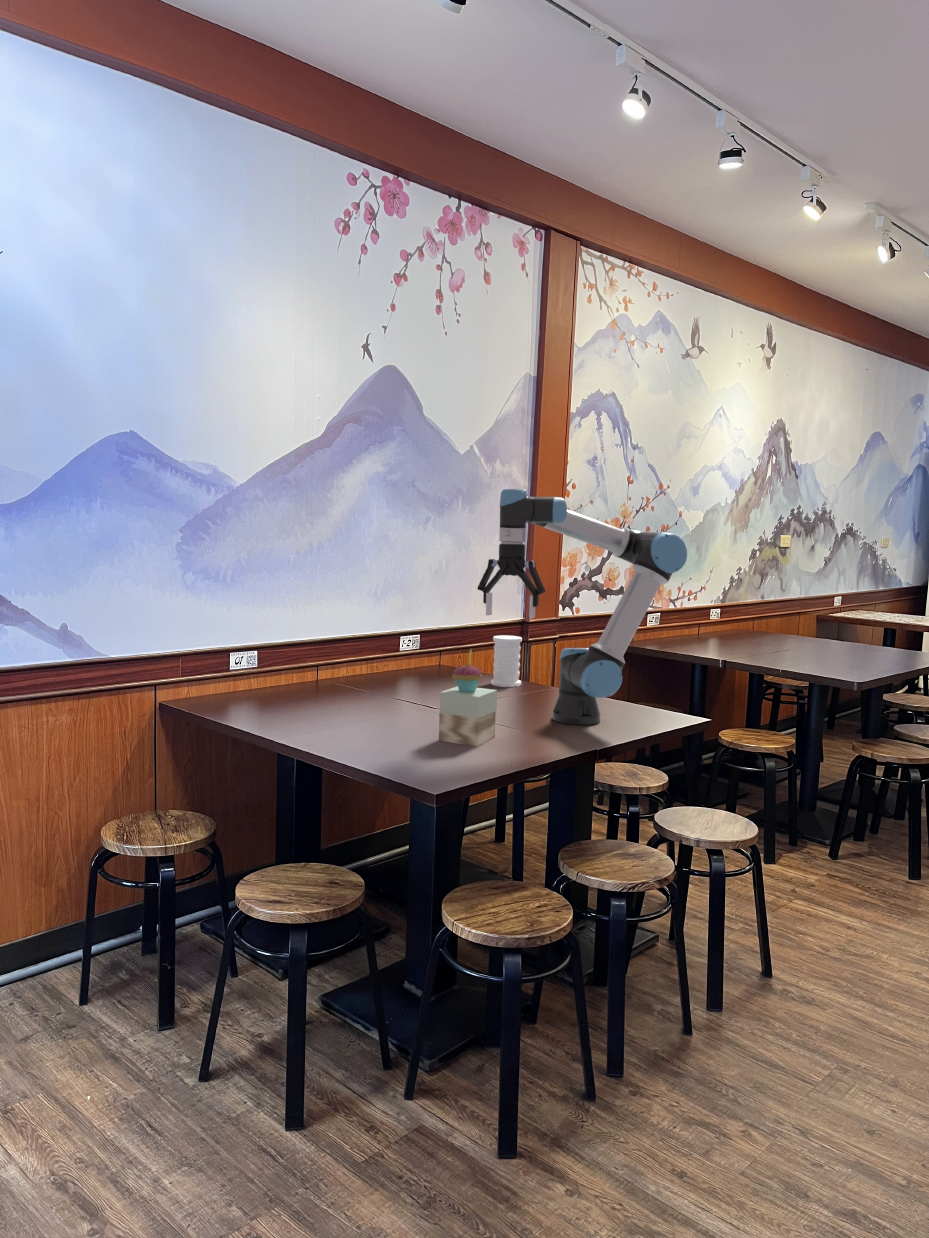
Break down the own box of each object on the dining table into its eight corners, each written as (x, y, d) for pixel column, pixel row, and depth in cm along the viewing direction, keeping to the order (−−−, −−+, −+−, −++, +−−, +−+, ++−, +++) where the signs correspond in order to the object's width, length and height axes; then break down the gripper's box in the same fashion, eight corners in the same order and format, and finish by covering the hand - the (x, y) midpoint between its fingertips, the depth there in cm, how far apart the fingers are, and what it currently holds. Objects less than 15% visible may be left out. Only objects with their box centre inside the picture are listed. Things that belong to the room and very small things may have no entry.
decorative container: (487, 681, 354) (489, 635, 352) (517, 681, 356) (518, 635, 354) (494, 687, 343) (495, 639, 341) (524, 687, 345) (526, 639, 343)
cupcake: (463, 686, 267) (463, 645, 265) (488, 689, 262) (487, 647, 260) (446, 691, 260) (445, 649, 258) (471, 694, 255) (471, 652, 253)
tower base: (494, 737, 265) (495, 710, 264) (477, 746, 254) (478, 718, 253) (457, 732, 270) (458, 705, 269) (438, 740, 259) (439, 713, 259)
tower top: (496, 710, 264) (497, 690, 263) (478, 718, 253) (478, 696, 253) (459, 705, 269) (459, 685, 269) (439, 712, 259) (440, 691, 258)
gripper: (467, 542, 266) (465, 614, 269) (548, 544, 256) (546, 620, 258) (478, 541, 273) (476, 612, 276) (557, 544, 263) (555, 618, 265)
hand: (510, 616), depth 267 cm, fingers open, 13 cm apart
